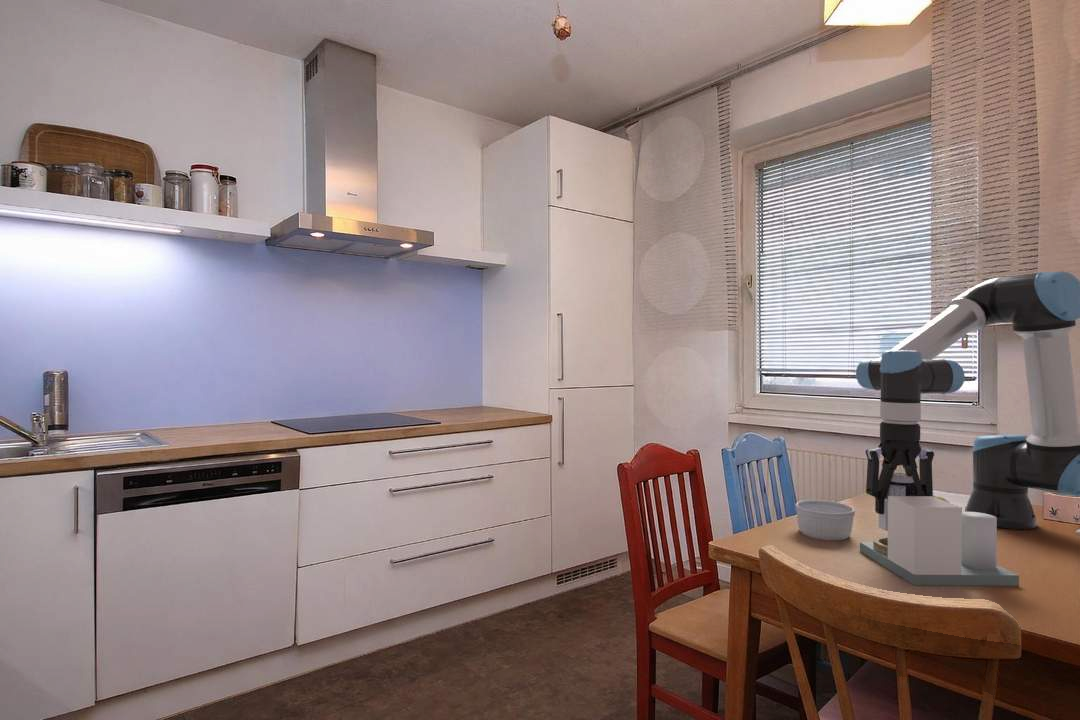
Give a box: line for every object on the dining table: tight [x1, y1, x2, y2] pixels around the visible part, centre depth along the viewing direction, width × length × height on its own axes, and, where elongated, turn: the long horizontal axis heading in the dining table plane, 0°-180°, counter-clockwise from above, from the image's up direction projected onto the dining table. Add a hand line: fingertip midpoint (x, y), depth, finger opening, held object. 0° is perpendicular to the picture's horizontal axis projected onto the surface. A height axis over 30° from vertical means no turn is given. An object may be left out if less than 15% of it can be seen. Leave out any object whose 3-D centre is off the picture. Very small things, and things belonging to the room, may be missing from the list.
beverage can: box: [885, 472, 915, 500], centre depth 130 cm, size 6×6×12 cm
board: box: [859, 511, 1020, 587], centre depth 126 cm, size 20×20×12 cm
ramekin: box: [795, 499, 856, 541], centre depth 149 cm, size 13×13×7 cm
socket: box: [872, 536, 888, 554], centre depth 130 cm, size 10×10×2 cm
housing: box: [887, 496, 963, 575], centre depth 120 cm, size 9×9×13 cm
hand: (898, 528), depth 130 cm, fingers closed on beverage can, 6 cm apart
